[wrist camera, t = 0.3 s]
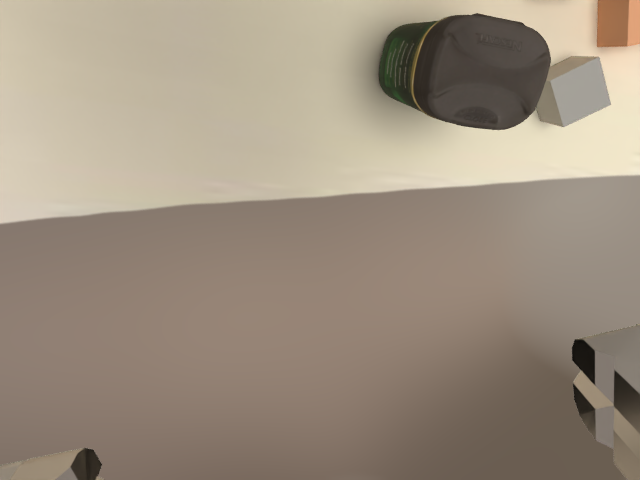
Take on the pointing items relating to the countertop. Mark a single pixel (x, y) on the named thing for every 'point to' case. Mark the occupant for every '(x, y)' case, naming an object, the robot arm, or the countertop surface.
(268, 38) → the countertop surface
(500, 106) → the coffee jar
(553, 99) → the grey cube
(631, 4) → the terracotta cube
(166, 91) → the countertop surface
